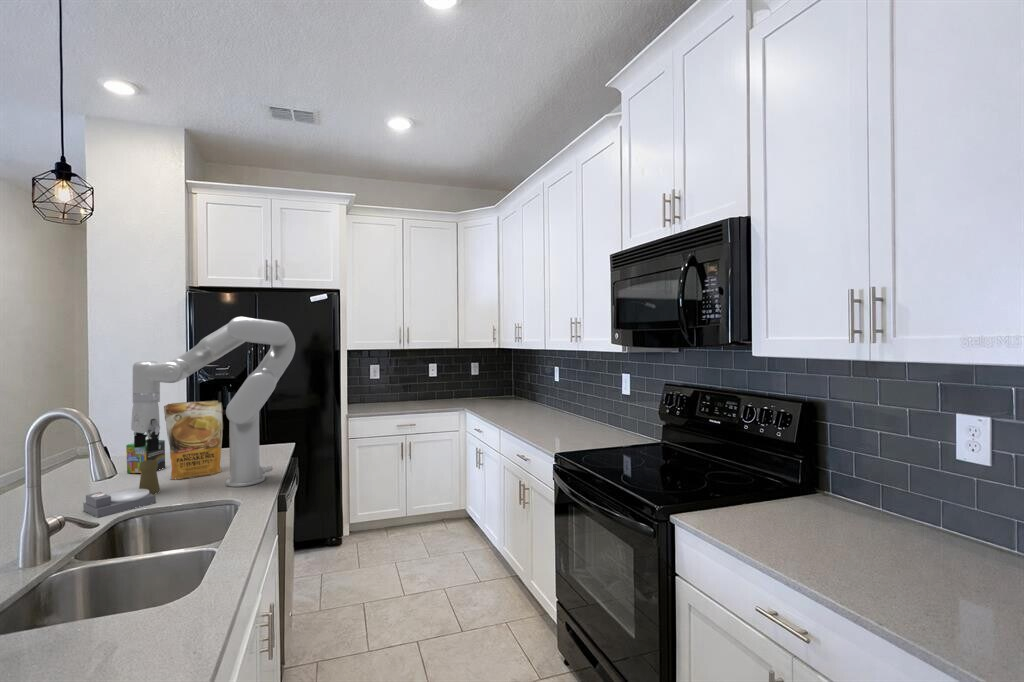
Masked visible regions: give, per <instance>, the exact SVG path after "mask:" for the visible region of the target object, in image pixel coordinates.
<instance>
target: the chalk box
mask: <svg viewBox="0 0 1024 682" xmlns="http://www.w3.org/2000/svg"><path fill="white" fill-rule="evenodd" d="M151 434H152V433H151ZM144 435H146V438H148V436H147V433H146V434H145V433H144ZM125 448H126V451H125V452H126V472H127V473H141V471H140V469H139V465H140V463H141V462H143V461H147V460H156V461H157V462H158V468H157V469H156V470H158V471H160V470H159V469H162V468H165V469H166V440H164V439H159V449H158V450H155V451H147V439H146V446H144V447H137V448H135V447H134V442H132V443H128V444H126V447H125ZM162 470H163V469H162ZM127 473H126V474H127Z"/></svg>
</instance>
